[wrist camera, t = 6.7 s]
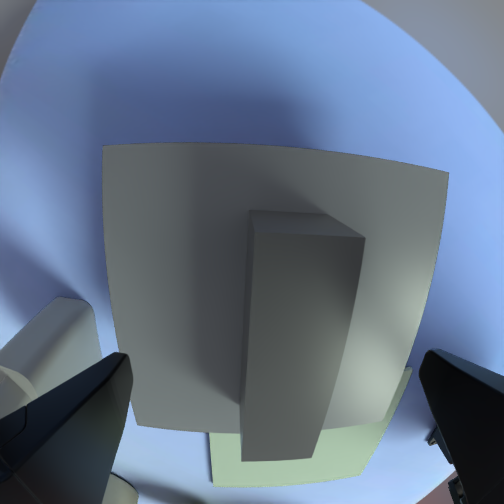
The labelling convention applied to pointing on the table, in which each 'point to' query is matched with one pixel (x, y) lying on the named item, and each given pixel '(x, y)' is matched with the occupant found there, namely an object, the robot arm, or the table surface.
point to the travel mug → (119, 492)
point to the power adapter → (47, 352)
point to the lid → (266, 285)
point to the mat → (304, 470)
